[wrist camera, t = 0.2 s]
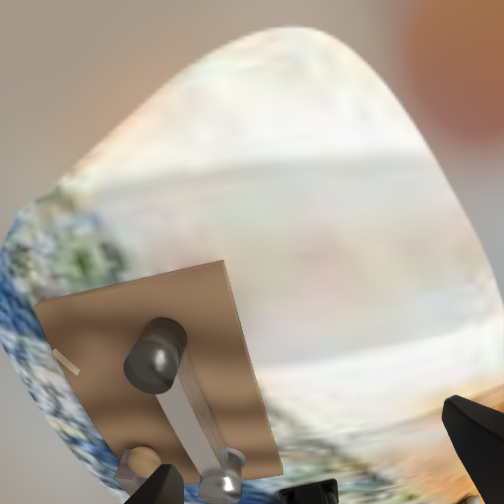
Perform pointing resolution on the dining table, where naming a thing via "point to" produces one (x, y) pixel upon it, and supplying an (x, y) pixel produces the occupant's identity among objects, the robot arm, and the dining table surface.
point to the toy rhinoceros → (473, 500)
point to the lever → (184, 407)
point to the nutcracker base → (147, 405)
